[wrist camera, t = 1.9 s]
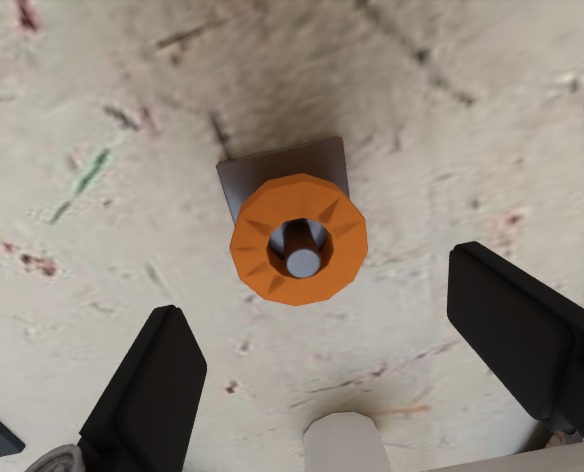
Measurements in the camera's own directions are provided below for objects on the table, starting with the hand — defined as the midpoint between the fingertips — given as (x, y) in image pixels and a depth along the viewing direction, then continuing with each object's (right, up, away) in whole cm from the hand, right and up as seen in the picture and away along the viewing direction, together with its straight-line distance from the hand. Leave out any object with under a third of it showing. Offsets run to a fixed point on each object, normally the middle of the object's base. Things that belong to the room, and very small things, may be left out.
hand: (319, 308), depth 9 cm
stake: (-1, +5, +10) cm, 11 cm away
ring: (-1, +3, +5) cm, 6 cm away
